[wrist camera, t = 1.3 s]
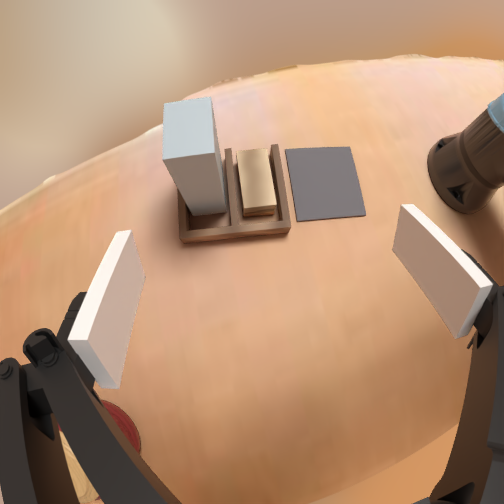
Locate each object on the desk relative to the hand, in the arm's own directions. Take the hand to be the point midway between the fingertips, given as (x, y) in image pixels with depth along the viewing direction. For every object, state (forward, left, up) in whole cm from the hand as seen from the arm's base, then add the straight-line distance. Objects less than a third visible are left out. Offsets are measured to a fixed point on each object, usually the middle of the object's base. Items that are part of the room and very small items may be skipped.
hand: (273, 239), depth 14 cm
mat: (-13, -15, -29) cm, 35 cm away
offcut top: (-2, -15, -28) cm, 32 cm away
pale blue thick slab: (+6, -15, -29) cm, 33 cm away
